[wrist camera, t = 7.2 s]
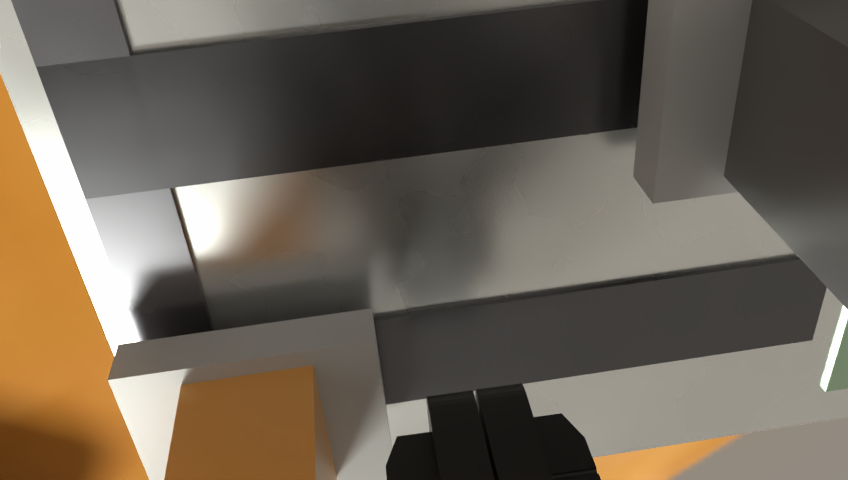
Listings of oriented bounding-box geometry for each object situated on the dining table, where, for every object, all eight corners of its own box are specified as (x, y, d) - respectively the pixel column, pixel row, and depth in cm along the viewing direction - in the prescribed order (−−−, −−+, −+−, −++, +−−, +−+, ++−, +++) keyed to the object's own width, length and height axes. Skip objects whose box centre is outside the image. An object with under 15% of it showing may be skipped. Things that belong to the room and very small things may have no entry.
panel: (-70, -602, 11) (-389, -879, 6) (947, -664, 12) (1426, -947, 7) (209, 327, 20) (181, 527, 15) (760, 249, 21) (902, 412, 16)
